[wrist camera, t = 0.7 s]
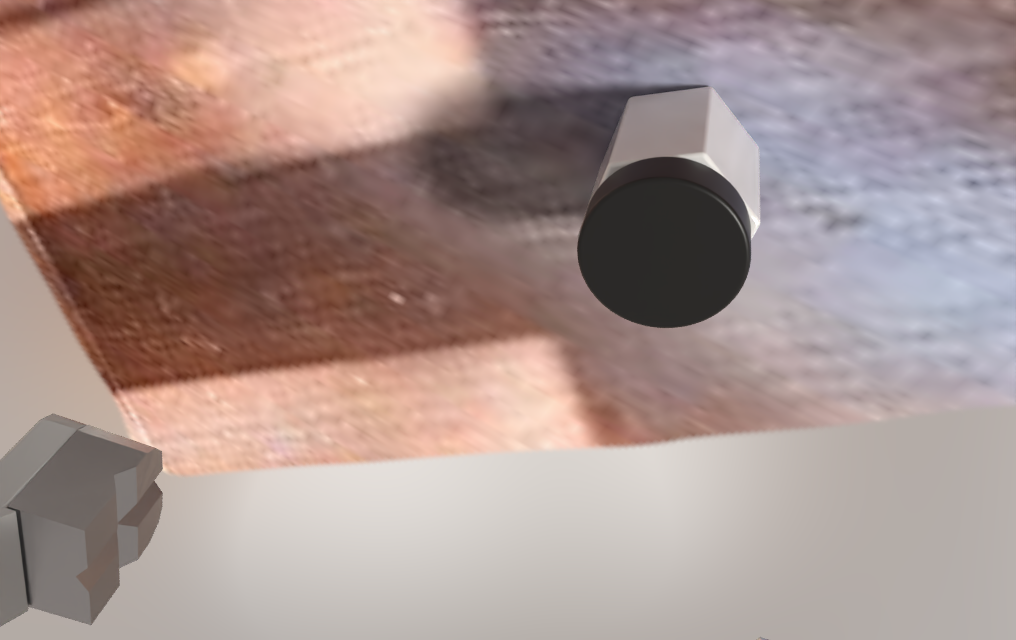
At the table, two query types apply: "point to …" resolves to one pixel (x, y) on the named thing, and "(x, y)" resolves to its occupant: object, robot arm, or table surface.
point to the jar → (672, 210)
